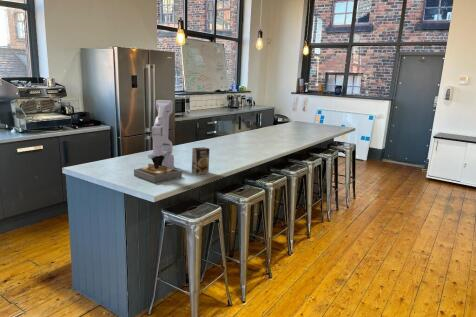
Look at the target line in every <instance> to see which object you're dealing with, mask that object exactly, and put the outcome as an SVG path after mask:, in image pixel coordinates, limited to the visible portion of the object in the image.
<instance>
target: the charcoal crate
mask: <svg viewBox="0 0 476 317" xmlns="http://www.w3.org/2000/svg"><path fill="white" fill-rule="evenodd" d="M161 166H162V167H166V168H170V169H173V172H171V173H166V174H161V175H156V176H153V175H150V174H148V173H145V172H142V171H141V169H143V168H147V167H148V166H146V167H140V168H134V169H133V176H134V177H136V178H138V179H142V180H143V181H144V180H145V181H146V182H149V183H152V184H157V183H162V182H167V181H171V180H175V179H181V178H182V177H183V173H182V172H183V170H180V169H176V168H175V167H174V168H171V167H168V166H165V165H161Z"/></svg>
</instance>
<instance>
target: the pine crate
mask: <svg viewBox="0 0 476 317" xmlns="http://www.w3.org/2000/svg"><path fill="white" fill-rule="evenodd" d="M146 167H147V168H145V167H142V168H143V169H141V171H142V172H145V173H148V174H150V175H153V176H156V175H161V174H166V173H171V172H173V169H170V168H166V167H162V166H159V168H158V169H155V166H154V163H150V162H149V163H148V164H147V166H146Z"/></svg>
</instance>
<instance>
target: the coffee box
mask: <svg viewBox="0 0 476 317" xmlns="http://www.w3.org/2000/svg"><path fill="white" fill-rule="evenodd" d="M191 151H192V153H191V154H192V156H191V173H192V174H194V175H195V176H199V175H200V174H201V175H207V173H208V174H210V172H209V171H210V169H209V168H210V148H208V147H205V146H204V147H203V146H202V147H192V150H191Z"/></svg>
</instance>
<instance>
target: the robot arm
mask: <svg viewBox="0 0 476 317" xmlns="http://www.w3.org/2000/svg"><path fill="white" fill-rule="evenodd" d="M173 105H174V104H173V101H172V100H170V99H167V100H166V99H165V100H164V99H157V100H156V101H155V109H156V111H157V116H156V117H155V118H154V124H153V126H152V127H151V138H152V152H151V153H150V154H148V155H147V156H148V157H147V159H150V160H151V161H152V164H154V166H155V169H158V168H159V166H161V165H165V166H168V167H171V168H174V169H175V156H174V154H173V142H172V141H171V140H170V139H169V125H170V124H169V123H170V122H169V120H170V119H169V118H170V115H171V114H172V113H173V109H174V108H173V107H174V106H173Z"/></svg>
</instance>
